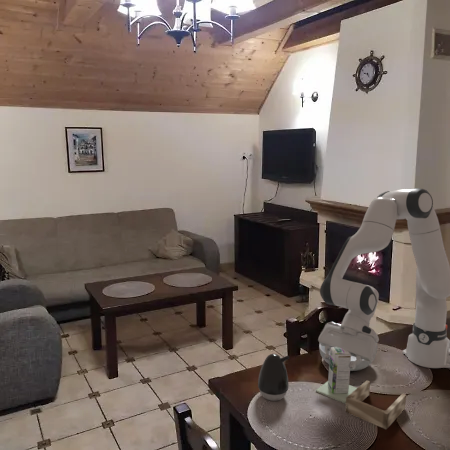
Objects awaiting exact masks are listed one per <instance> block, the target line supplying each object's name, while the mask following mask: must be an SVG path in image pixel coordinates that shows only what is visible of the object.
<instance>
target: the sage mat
mask: <svg viewBox="0 0 450 450" xmlns="http://www.w3.org/2000/svg"><path fill="white" fill-rule="evenodd" d="M357 388H358V387H356V386H353V385H351V384H349V391H348V393H342V394H332V392H331V390H330V388H329V387H328V380H327V381H326V382H325V383H324V384H322V385H321V386H320V387H318V388H317V389H315V392H316V393H319V394H321V395H323V396H325V397H328V398H330V399H333V400H334V401H337V402H339V403H342V404H345V405H346V397H348V396H349V395H350V394H351V393H352V392H353V391H355V390H356V389H357Z"/></svg>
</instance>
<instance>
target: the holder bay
mask: <svg viewBox="0 0 450 450" xmlns="http://www.w3.org/2000/svg"><path fill="white" fill-rule="evenodd" d="M370 386H371V381H370V380H365V381H364V382H363V383H362V384H360V385H359V386H358V387H356V388H357V389H356V390H355V391H353V392H352V393H351V394H350V395H349V396H348V397H346V403H345V413H347V414H348V415H351V416H353V417H355V418H358V417H359V418H358V419H361V420H363V421H365V422H367V423H370V424H372V425H374V426H377V427H379V428H382V429H383V430H387V429H388V428H389V427H390V426H391V425H392V424H393V423H394V422H396V421H395V420H396V419H397V418H398V417H400V415H401V414H402V413H403V412H404V411H405V410H406V402H407V394H405V393H401V394H400V396H398V397H397V399H395V401H393V403H391V404H390V405H389V407H387V409H386V410H383V409H382V408H378V407H376V406H374V405H372V404H369V403H366V402H364V400H365V399H367V397H369V396H370ZM403 410H404V411H403ZM402 411H403V412H402Z"/></svg>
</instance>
